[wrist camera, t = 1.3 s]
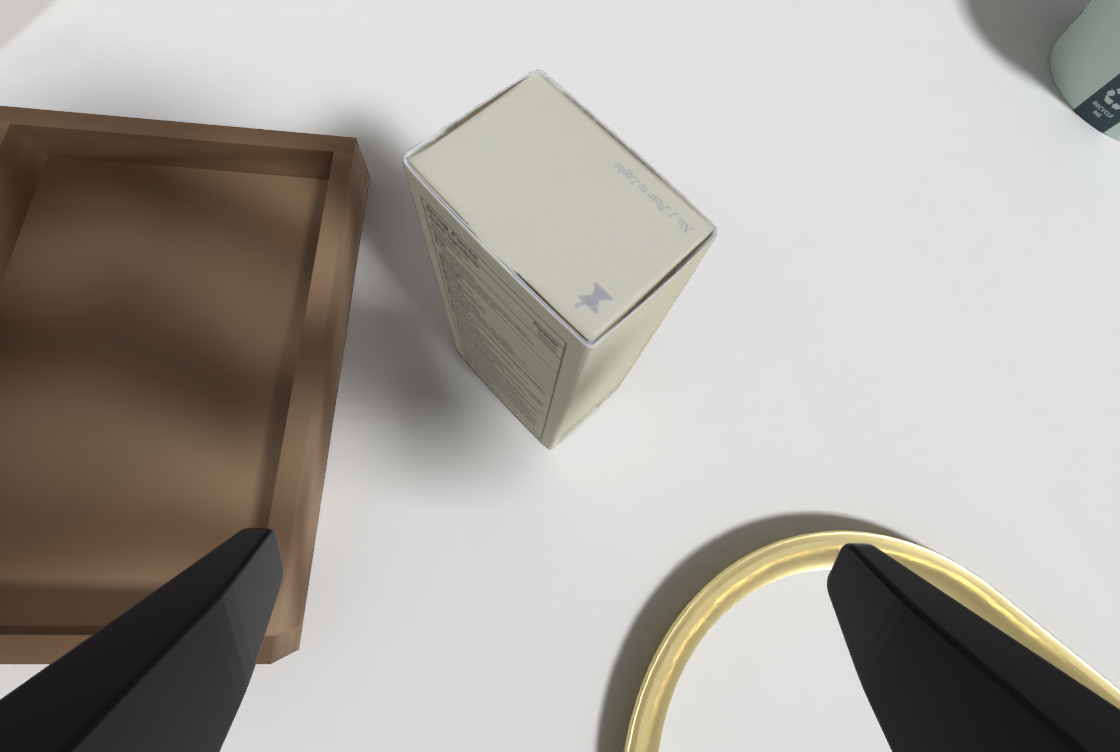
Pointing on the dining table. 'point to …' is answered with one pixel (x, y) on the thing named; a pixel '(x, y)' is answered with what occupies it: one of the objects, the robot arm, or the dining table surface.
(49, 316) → the walnut tray
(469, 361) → the skincare box
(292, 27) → the dining table surface
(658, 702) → the gold hoop ring
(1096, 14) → the food container
